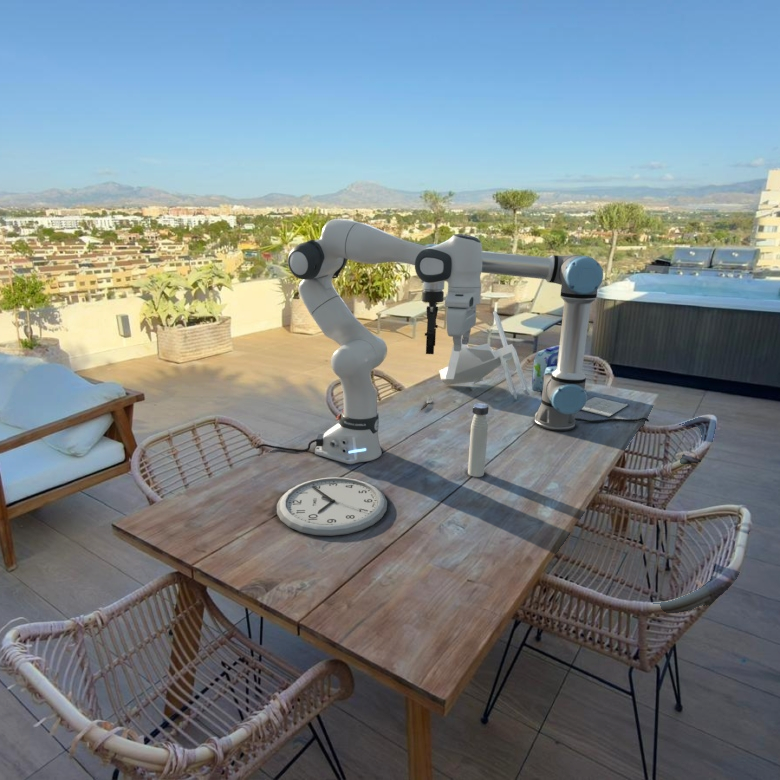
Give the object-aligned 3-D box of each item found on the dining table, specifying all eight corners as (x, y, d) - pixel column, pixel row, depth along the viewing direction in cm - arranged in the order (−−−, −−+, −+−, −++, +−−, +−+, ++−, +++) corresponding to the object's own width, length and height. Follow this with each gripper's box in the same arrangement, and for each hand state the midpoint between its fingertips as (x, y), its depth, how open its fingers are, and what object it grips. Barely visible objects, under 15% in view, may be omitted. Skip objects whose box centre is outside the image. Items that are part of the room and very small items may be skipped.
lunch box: (548, 398, 236) (553, 353, 229) (527, 393, 243) (531, 349, 237) (575, 387, 253) (581, 344, 247) (555, 382, 260) (560, 341, 254)
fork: (418, 410, 217) (418, 406, 217) (428, 399, 232) (428, 395, 231) (424, 411, 216) (424, 406, 216) (434, 400, 231) (434, 395, 230)
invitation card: (608, 416, 214) (573, 407, 224) (608, 416, 214) (573, 408, 224) (628, 404, 229) (594, 396, 238) (628, 405, 229) (594, 397, 238)
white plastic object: (461, 429, 252) (437, 405, 227) (444, 352, 274) (420, 323, 250) (535, 404, 240) (518, 377, 215) (510, 326, 262) (492, 293, 237)
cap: (483, 416, 154) (484, 409, 153) (469, 412, 156) (470, 406, 156) (490, 412, 157) (491, 405, 157) (477, 408, 160) (477, 402, 159)
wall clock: (392, 527, 129) (268, 531, 127) (391, 533, 130) (269, 537, 127) (383, 473, 158) (282, 475, 155) (383, 478, 158) (282, 480, 156)
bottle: (479, 478, 160) (484, 410, 153) (464, 474, 162) (469, 407, 156) (486, 472, 163) (492, 406, 157) (472, 468, 166) (477, 403, 160)
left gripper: (461, 292, 152) (458, 339, 156) (443, 301, 133) (441, 353, 137) (482, 293, 149) (479, 341, 154) (467, 302, 131) (464, 356, 135)
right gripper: (424, 286, 195) (422, 342, 201) (420, 294, 171) (417, 357, 177) (444, 286, 194) (441, 342, 200) (443, 294, 170) (440, 358, 176)
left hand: (461, 347), depth 145 cm, fingers open, 8 cm apart
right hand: (430, 349), depth 189 cm, fingers open, 13 cm apart
